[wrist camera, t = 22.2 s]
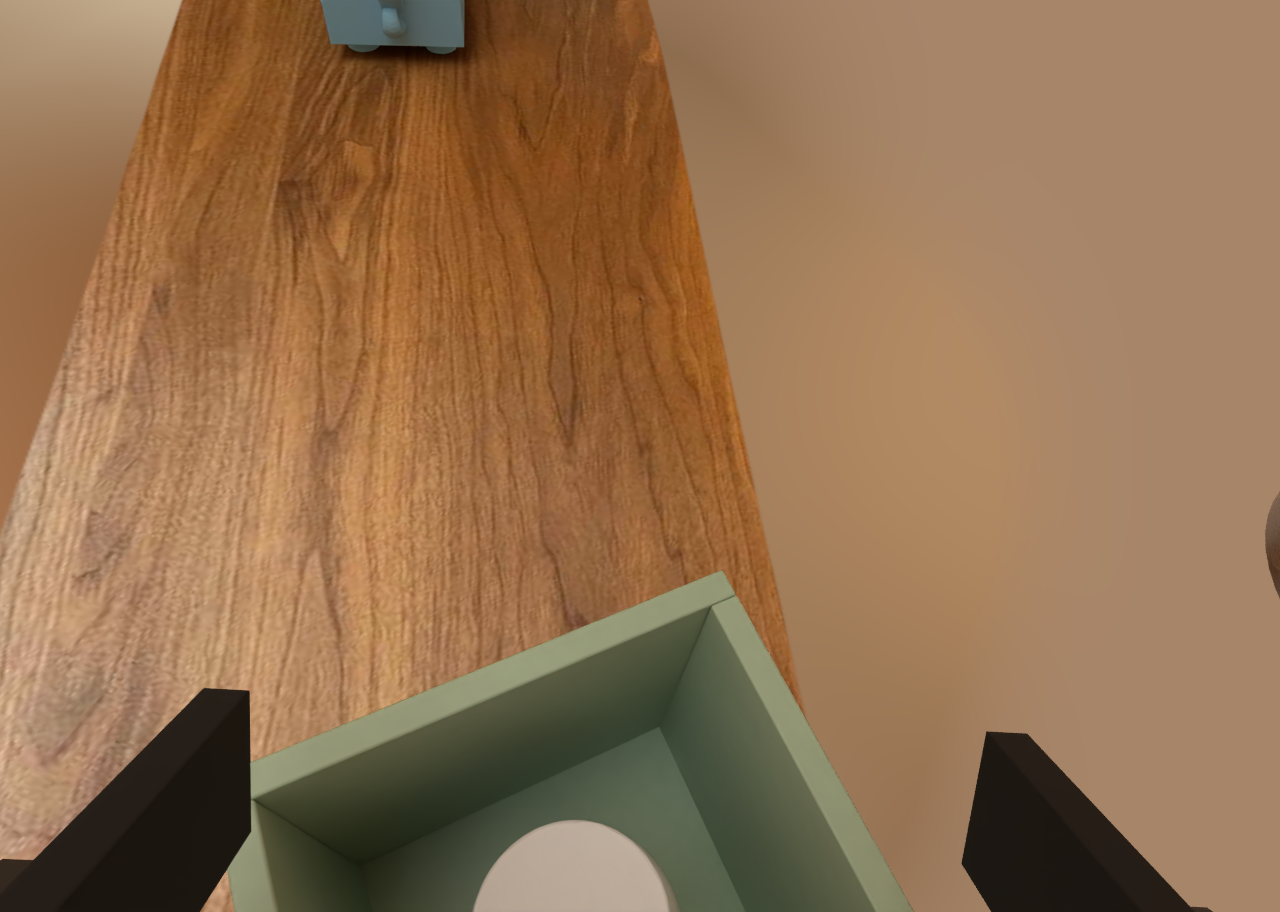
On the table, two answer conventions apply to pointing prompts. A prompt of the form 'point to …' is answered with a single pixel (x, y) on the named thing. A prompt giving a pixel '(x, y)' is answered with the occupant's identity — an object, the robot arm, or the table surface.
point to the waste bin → (573, 777)
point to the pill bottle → (576, 873)
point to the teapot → (395, 23)
